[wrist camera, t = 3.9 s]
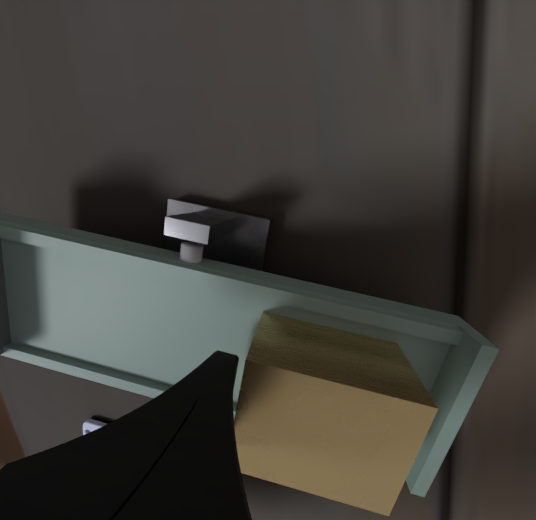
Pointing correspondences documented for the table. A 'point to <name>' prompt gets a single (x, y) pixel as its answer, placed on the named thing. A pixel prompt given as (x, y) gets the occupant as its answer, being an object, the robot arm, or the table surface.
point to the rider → (330, 413)
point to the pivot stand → (218, 232)
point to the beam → (204, 320)
